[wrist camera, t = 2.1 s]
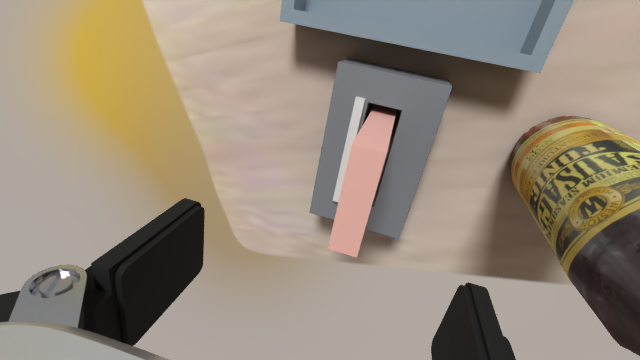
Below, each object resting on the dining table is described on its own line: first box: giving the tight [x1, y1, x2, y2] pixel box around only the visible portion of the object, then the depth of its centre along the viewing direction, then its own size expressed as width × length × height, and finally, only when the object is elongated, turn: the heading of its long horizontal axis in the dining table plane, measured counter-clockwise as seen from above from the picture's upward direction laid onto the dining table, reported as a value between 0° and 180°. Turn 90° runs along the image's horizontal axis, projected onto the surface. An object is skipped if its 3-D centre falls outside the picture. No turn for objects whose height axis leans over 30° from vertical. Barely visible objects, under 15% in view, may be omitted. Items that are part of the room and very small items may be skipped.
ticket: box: [328, 104, 397, 258], centre depth 20 cm, size 2×6×10 cm, turn 170°
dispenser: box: [310, 59, 452, 239], centre depth 23 cm, size 7×11×4 cm, turn 169°
